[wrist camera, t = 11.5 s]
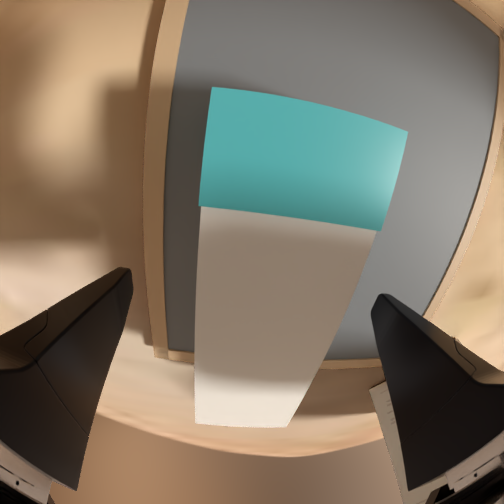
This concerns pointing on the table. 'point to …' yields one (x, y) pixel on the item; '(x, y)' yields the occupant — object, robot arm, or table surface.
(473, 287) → the table surface
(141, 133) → the table surface
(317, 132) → the marker
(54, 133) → the table surface
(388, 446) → the small box
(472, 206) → the slate board
